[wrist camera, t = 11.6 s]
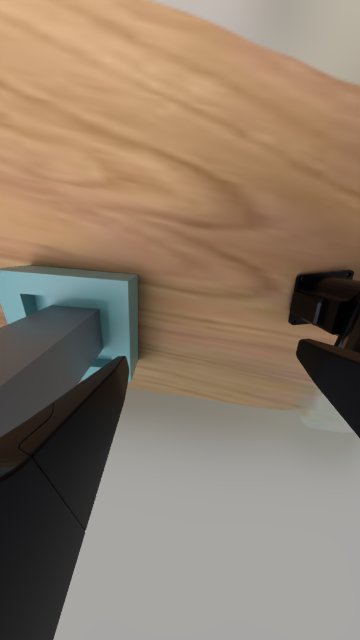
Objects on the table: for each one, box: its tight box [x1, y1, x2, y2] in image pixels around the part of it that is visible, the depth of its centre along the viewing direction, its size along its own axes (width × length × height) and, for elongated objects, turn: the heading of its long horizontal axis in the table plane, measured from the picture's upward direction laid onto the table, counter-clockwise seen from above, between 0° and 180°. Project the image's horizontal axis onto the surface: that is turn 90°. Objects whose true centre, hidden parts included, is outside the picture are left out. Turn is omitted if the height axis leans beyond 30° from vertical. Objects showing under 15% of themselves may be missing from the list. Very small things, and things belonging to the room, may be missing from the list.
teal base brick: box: [0, 265, 138, 382], centre depth 20 cm, size 12×12×4 cm
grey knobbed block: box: [0, 305, 103, 437], centre depth 13 cm, size 5×5×13 cm
